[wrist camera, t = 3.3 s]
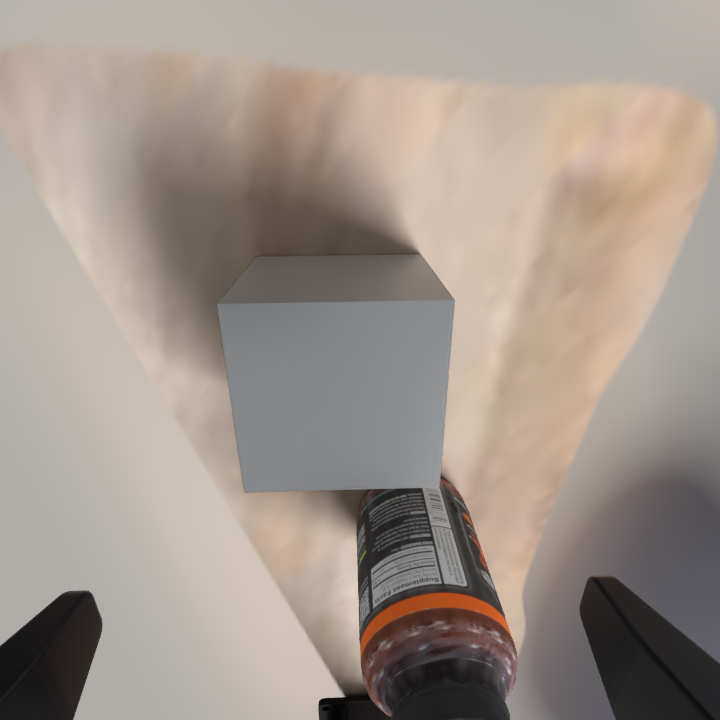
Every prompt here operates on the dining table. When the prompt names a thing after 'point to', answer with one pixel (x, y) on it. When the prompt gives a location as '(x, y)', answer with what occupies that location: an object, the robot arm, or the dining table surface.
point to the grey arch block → (338, 371)
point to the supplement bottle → (429, 610)
